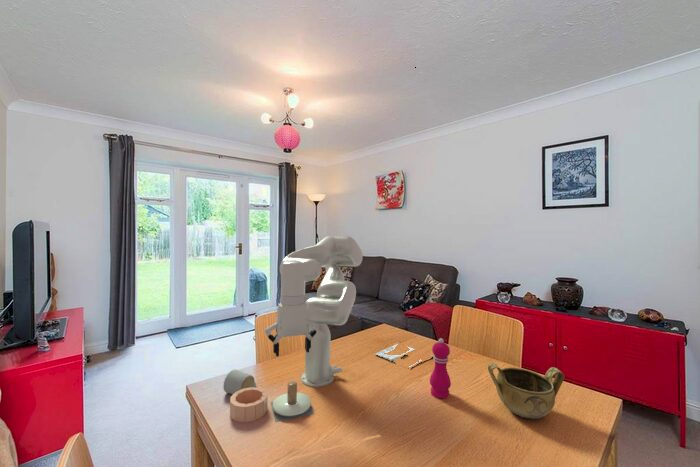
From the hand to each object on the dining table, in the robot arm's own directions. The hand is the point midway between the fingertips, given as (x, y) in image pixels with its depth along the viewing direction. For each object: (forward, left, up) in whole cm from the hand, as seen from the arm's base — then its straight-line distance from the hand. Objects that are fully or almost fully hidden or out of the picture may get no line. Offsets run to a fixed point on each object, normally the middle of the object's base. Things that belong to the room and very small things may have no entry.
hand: (292, 352), depth 99 cm
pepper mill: (-51, +9, -18) cm, 55 cm away
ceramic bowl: (-70, +27, -18) cm, 77 cm away
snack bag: (-56, -23, -19) cm, 64 cm away
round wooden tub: (+13, -3, -18) cm, 22 cm away
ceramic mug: (+14, -16, -18) cm, 29 cm away
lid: (0, 0, -18) cm, 18 cm away
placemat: (0, 0, -18) cm, 18 cm away
